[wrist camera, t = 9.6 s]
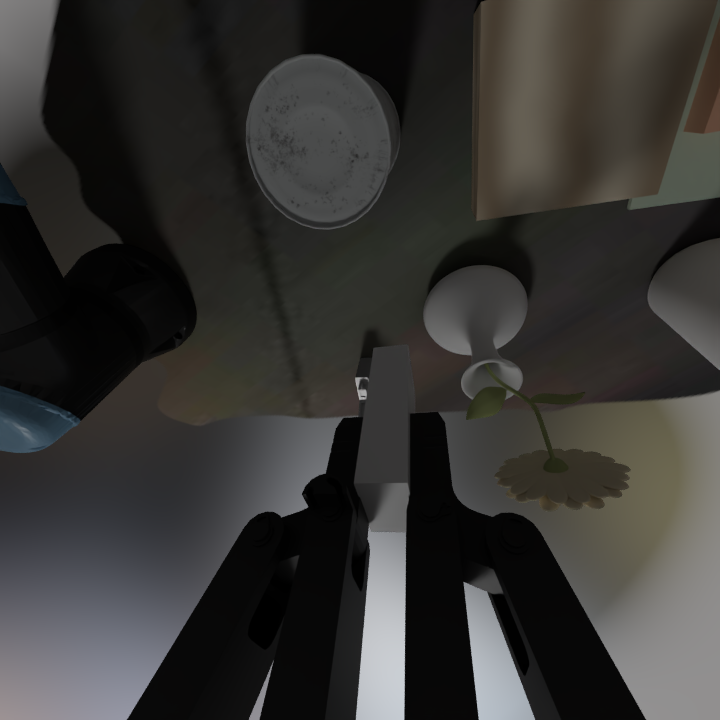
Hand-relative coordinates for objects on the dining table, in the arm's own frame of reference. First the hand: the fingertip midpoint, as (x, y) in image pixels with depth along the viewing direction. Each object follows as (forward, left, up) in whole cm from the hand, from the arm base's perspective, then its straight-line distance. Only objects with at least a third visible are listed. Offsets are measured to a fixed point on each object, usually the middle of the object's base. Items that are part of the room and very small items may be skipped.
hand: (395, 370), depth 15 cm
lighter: (-8, -21, -25) cm, 34 cm away
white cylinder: (-5, +8, -25) cm, 27 cm away
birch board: (+13, +7, -25) cm, 29 cm away
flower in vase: (+7, -11, -25) cm, 29 cm away
